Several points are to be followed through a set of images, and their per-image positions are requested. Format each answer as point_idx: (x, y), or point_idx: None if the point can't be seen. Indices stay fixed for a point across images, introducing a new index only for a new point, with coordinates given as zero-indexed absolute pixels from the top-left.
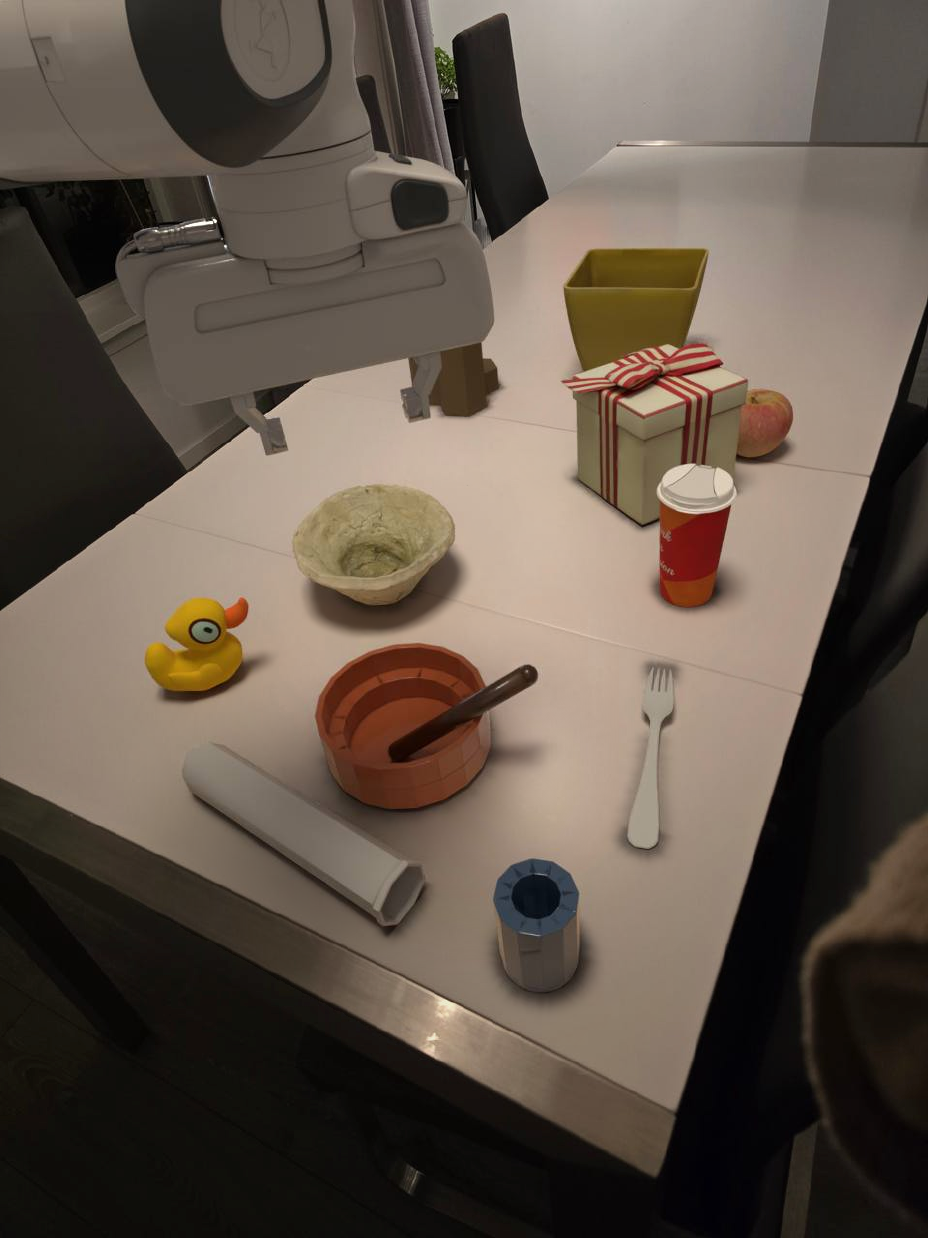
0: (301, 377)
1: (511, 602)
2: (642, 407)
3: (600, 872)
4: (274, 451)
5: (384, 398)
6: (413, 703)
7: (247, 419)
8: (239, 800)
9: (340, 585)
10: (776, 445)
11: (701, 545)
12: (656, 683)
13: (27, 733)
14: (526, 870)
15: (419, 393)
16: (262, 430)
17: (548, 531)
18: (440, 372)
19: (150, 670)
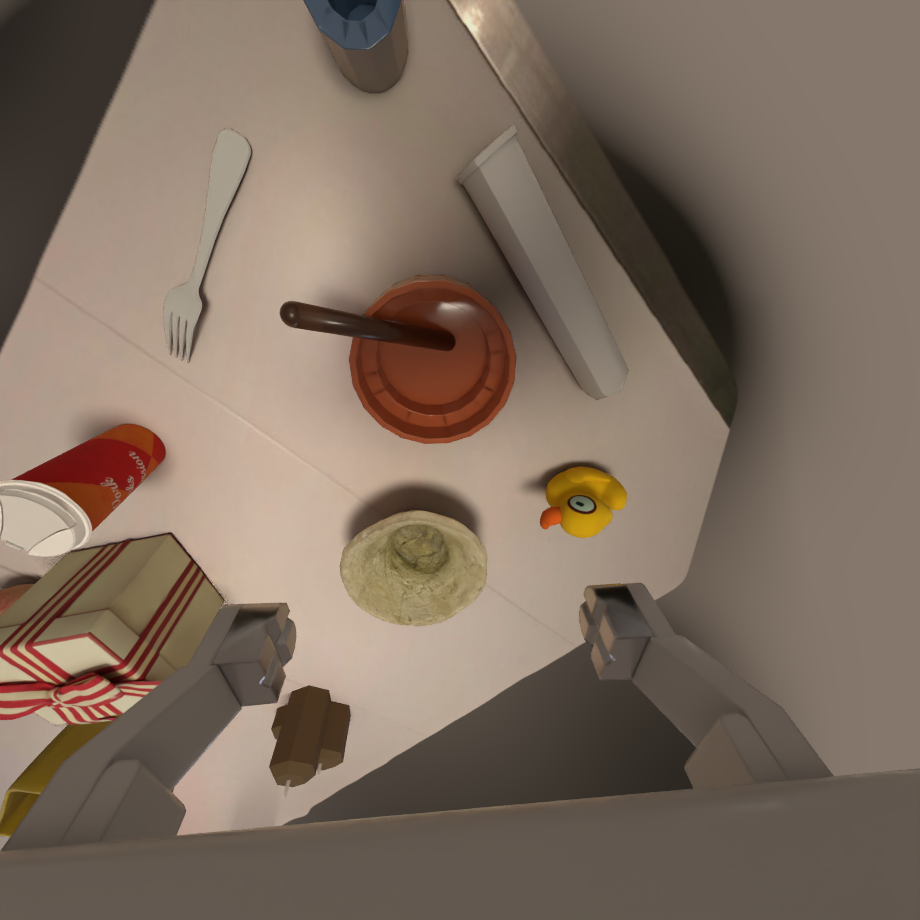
0: (600, 819)
1: (311, 483)
2: (89, 647)
3: (288, 122)
4: (623, 587)
5: (374, 716)
6: (420, 396)
7: (728, 677)
8: (595, 319)
9: (456, 524)
10: (3, 589)
11: (70, 459)
12: (181, 330)
13: (705, 471)
14: (353, 29)
15: (207, 674)
16: (669, 640)
17: (262, 551)
18: (319, 732)
19: (623, 488)
